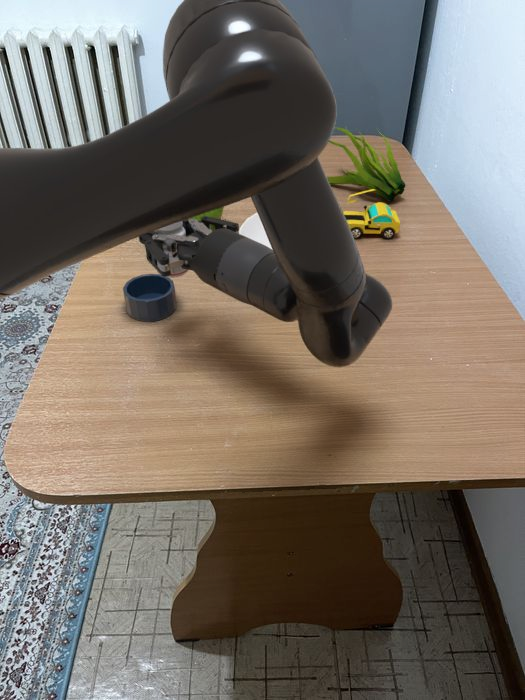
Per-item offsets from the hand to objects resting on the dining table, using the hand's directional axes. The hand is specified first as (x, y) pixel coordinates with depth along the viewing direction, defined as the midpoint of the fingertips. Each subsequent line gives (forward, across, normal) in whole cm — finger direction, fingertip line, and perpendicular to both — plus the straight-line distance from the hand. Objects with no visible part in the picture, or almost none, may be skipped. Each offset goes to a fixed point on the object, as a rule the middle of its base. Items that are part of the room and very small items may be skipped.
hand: (156, 226), depth 80 cm
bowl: (-4, -25, +18) cm, 30 cm away
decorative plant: (+14, -63, +17) cm, 67 cm away
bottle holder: (+6, -1, +17) cm, 18 cm away
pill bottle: (-3, 0, +6) cm, 7 cm away
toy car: (-4, -48, +18) cm, 51 cm away
